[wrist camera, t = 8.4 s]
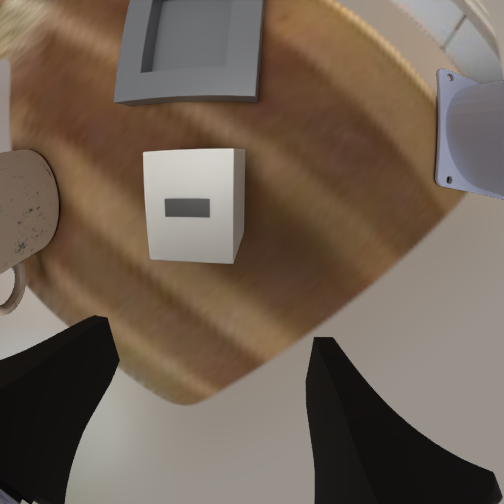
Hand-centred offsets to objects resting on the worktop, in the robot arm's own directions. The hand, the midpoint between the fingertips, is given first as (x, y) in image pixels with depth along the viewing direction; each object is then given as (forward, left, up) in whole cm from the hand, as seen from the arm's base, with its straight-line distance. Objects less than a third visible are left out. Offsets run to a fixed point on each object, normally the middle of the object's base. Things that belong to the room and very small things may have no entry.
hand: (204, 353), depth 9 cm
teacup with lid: (+18, -2, -10) cm, 20 cm away
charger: (+2, -4, -10) cm, 10 cm away
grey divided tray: (+3, -17, -10) cm, 20 cm away
